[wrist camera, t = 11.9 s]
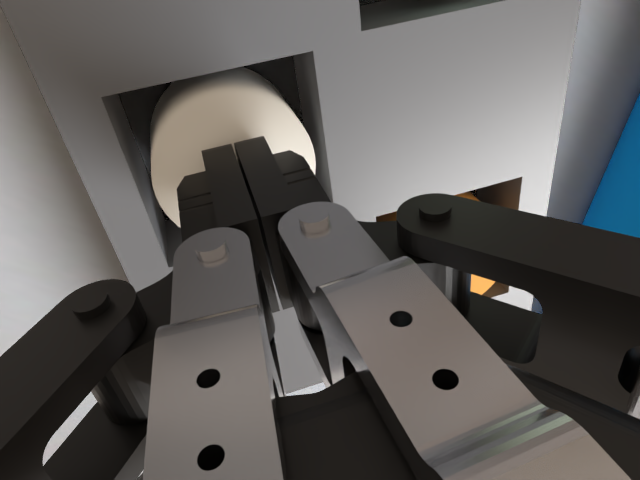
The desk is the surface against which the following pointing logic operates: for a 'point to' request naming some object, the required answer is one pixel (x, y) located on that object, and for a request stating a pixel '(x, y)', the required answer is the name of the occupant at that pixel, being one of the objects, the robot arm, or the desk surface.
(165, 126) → the button ivory
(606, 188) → the book
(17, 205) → the desk surface
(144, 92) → the desk surface
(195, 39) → the panel
